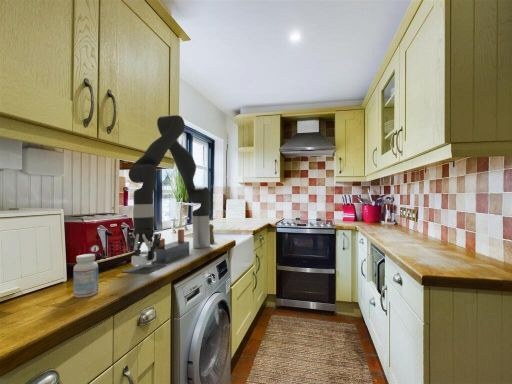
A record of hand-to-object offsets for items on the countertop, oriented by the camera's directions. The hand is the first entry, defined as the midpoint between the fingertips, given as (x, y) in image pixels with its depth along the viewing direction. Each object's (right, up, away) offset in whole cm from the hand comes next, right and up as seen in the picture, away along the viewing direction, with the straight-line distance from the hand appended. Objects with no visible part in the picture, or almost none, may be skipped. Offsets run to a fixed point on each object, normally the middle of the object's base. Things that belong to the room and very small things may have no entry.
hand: (144, 259), depth 105 cm
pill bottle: (-6, -4, -27) cm, 27 cm away
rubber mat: (0, -4, 0) cm, 4 cm away
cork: (+15, -5, +60) cm, 62 cm away
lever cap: (0, -1, 0) cm, 1 cm away
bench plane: (+5, -4, +18) cm, 19 cm away
